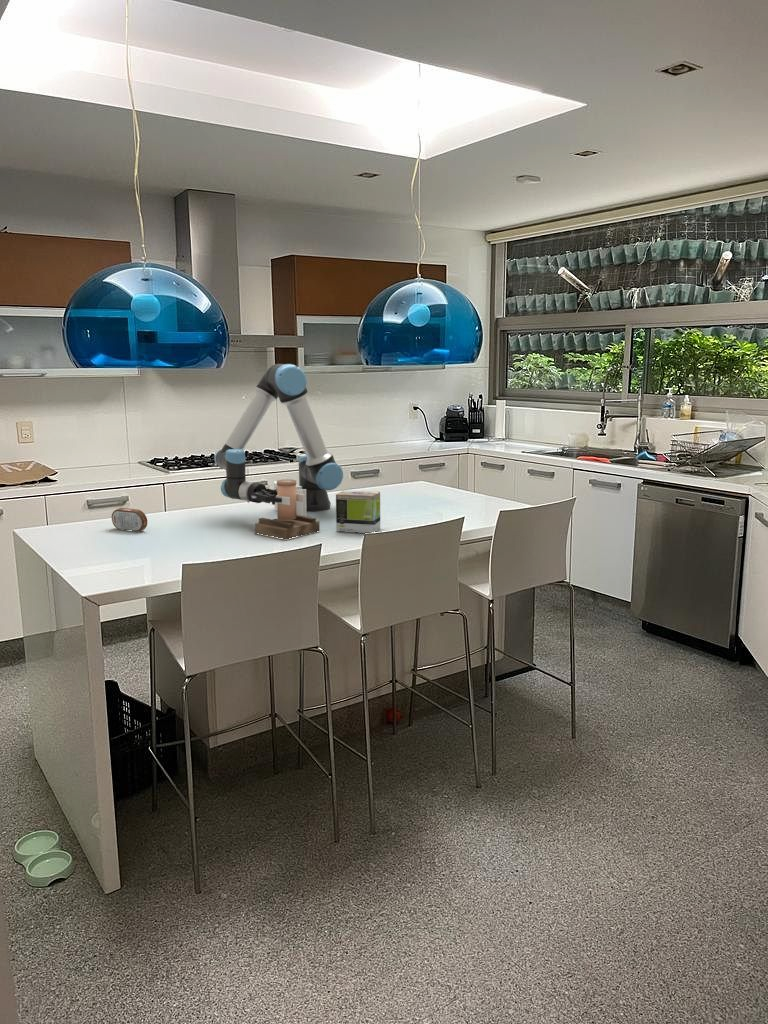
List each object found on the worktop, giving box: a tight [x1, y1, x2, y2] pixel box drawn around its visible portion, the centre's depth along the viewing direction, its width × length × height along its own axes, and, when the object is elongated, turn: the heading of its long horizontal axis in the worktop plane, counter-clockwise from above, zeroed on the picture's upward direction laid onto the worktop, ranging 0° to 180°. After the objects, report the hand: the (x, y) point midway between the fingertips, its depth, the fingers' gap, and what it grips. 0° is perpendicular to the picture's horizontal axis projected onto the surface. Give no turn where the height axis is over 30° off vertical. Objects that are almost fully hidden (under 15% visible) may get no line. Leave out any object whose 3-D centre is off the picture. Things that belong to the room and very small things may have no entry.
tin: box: [111, 507, 148, 532], centre depth 302 cm, size 15×3×8 cm, turn 68°
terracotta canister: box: [276, 478, 297, 520], centre depth 298 cm, size 7×7×14 cm
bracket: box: [273, 480, 308, 517], centre depth 333 cm, size 25×10×12 cm, turn 20°
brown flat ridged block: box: [254, 515, 321, 539], centre depth 300 cm, size 18×16×6 cm
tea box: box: [335, 489, 381, 534], centre depth 304 cm, size 15×10×15 cm
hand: (296, 499), depth 295 cm, fingers closed on terracotta canister, 7 cm apart
